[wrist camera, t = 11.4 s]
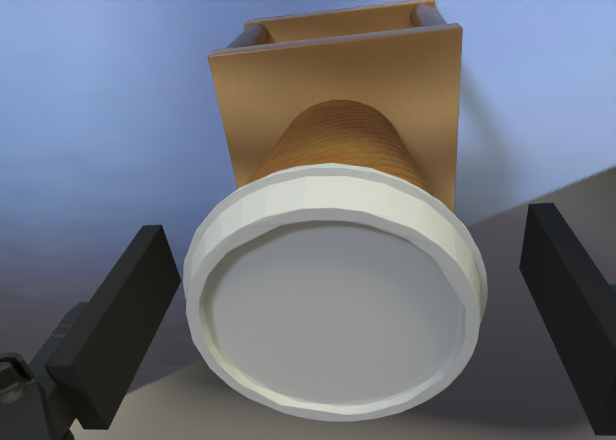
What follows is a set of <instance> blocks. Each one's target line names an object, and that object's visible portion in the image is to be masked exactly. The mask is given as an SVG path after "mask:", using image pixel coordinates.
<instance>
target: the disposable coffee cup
mask: <svg viewBox="0 0 616 440" xmlns="http://www.w3.org/2000/svg"><path fill="white" fill-rule="evenodd" d="M183 286H184V292H185V298H186V303H187V305H186V314H187V318H188V323H189V327H190V331H191V336H192V340H193V342H194V344H195V345H196V347H197V349H198V350H199V352H200V353H201V355H202V356H203V358H204V360H205V361H206V362H207V364H208V366H209V367H210V368H211V369H212V370H213V371H214V372H215V373H216V374H217V375H218V376H219V377H220V378H221V379H222V380H224V381H225V382H226V383H227V384H228V385H229V386H230V387H232V388H234V389H235V390H236V391H238V392H240V393H241V394H243V395H244V396H246V397H247V398H249V399H251V400H253V401H256V402H258V403H261V404H263V405H266V406H268V407H270V408H273V409H275V410H278V411H280V412H283V413H285V414H289V415H294V416H298V417H303V418H308V419H313V420H324V421H335V422H336V421H337V422H339V421H361V420H368V419H375V418H380V417H384V416H388V415H393V414H397V413H401V412H403V411H406V410H408V409H410V408H412V407H414V406H416V405H419V404H421V403H423V402H425V401H427V400H429V399H430V398H432V397H433V396H435V395H436V394H438V393H439V392H441V391H442V390H444V389H445V388H446V387H448V385H449V384H450V383H451V382H452V381H453V380H454V379H455V378H456V377H457V376H458V375H459V374H460V373H461V372H462V371H463V369H464V368H465V366H466V364H467V363H468V361H469V359H470V357H471V356H472V354H473V352H474V349H475V346H476V343H477V341H478V334H479V325H480V323H481V321H482V319H483V316H484V310H485V306H486V301H487V296H488V290H487V277H486V269H485V266H484V263H483V260H482V257H481V253H480V251H479V250H478V248H477V246H476V244H475V242H474V240H473V238H472V237H471V235H470V233H469V231H468V230H467V228H466V227H465V225H464V224H463V223H462V222H461V221H460V220H459V219H458V218H457V217H456V216H455V215H454V214H453V213H452V212H451V211H450V210H449V209H448V208H447V207H446V206H445V205H444V204H443V203H442V202H441V201H439V200H438V199H436V198H435V197H434V195H433V193H432V192H431V190H430V189H429V187H428V185H427V183H426V182H425V179H424V178H423V176H422V175H421V173H420V171H419V170H418V168H417V166H416V165H415V162H414V160H413V159H412V157H411V156H410V154H409V152H408V150H407V149H406V147H405V145H404V144H403V142H402V140H401V139H400V137H399V135H398V132H397V131H396V129H395V128H394V126H393V125H392V123H391V122H390V121H389V120H388V119H387V118H386V117H385V116H384V115H383V114H382V113H381V112H379V111H377V110H376V109H374V108H373V107H371V106H368V105H365V104H363V103H360V102H357V101H350V100H330V101H325V102H321V103H319V104H316V105H314V106H311V107H309V108H308V109H306V110H305V111H303V112H302V113H300V114H299V115H298V116H297V117H296V118H295V119H294V120H293V121H292V122H291V123H290V125H289V127H288V128H287V129H286V131H285V132H284V133H283V135H282V136H281V137H280V139H279V140H278V141H277V143H276V144H275V145H274V147H273V148H272V149H271V150H270V152H269V153H268V154H267V156H266V157H265V159H264V160H263V161H262V163H261V164H260V165H259V166H258V168H257V169H256V171H255V172H254V173H253V174H252V176H251V177H250V178H249V180H248V181H247V183H246V184H245V185H244V186H242V187H240V188H239V189H237V190H236V191H235V192H233V193H232V194H231V195H229V196H228V197H227V198H225V199H224V200H223V201H221V202H220V203H219V204H218V205H217V206H216V207H215V208H214V209H213V210H212V211H211V212H210V214H209V215H208V216H207V217H206V219H205V220H204V221H203V222H202V223H201V225H200V226H199V227H198V229H197V230H196V232H195V234H194V236H193V239H192V242H191V244H190V247H189V250H188V252H187V255H186V257H185V260H184V275H183Z"/></svg>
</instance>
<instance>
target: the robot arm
mask: <svg viewBox="0 0 616 440" xmlns="http://www.w3.org/2000/svg"><path fill="white" fill-rule="evenodd" d="M520 271H521V273H522V275H523V277H524V280H525V282H526V284H527V286H528V288H529V290H530V293H531V295H532V297H533V299H534V301H535V304H536V306H537V308H538V310H539V312H540V314H541V317H542V319H543V321H544V323H545V325H546V328H547V330H548V332H549V334H550V337H551V339H552V341H553V343H554V345H555V347H556V349H557V352H558V354H559V356H560V358H561V361H562V363H563V365H564V367H565V369H566V372H567V374H568V376H569V378H570V380H571V382H572V385H573V387H574V389H575V391H576V394H577V396H578V398H579V400H580V402H581V404H582V407H583V409H584V411H585V413H586V415H587V417H588V420H589V422H590V424H591V426H592V428H593V431H594V433H595V435H609V436H611V435H613V436H616V285H609V284H608V283H607V281H606V280H605V278H604V277H603V276H602V274H601V273H600V271H599V270H598V268H597V267H596V265H595V264H594V262H593V261H592V259H591V258H590V256H589V255H588V253H587V252H586V251H585V249H584V248H583V246H582V245H581V243H580V242H579V241H578V239H577V237H576V236H575V234H574V233H573V231H572V230H571V228H570V227H569V226H568V224H567V223H566V221H565V220H564V218H563V217H562V215H561V214H560V212H559V211H558V209H557V208H556V206H555V205H554V203H541V204H529V207H528V214H527V221H526V227H525V234H524V241H523V248H522V254H521V261H520ZM180 282H181V279H180V276H179V273H178V270H177V267H176V264H175V261H174V259H173V256H172V253H171V250H170V247H169V244H168V241H167V238H166V235H165V233H164V230H163V227H162V225H147V226H142V228H141V229H140V230H139V232H138V233H137V235H136V236H135V237H134V239H133V240H132V242H131V243H130V245H129V246H128V247H127V249H126V250H125V252H124V253H123V254H122V256H121V257H120V259H119V260H118V262H117V263H116V264H115V266H114V267H113V269H112V270H111V271H110V273H109V274H108V276H107V277H106V279H105V280H104V281H103V283H102V284H101V286H100V287H99V288H98V290H97V291H96V293H95V294H94V296H93V297H92V298H91V300H90V301H89V302H80V303H79V304H78V305H77V306H75V307H74V308H73V309H72V310H71V311H69V312H68V313H67V314H66V315H65V317H64V318H63V319H62V321H61V322H60V323H59V325H58V328H56V329H55V330H54V332H53V333H52V334H51V337H50V338H48V340H47V341H46V342H45V344H44V345H43V346H42V348H41V349H40V350H39V352H38V353H37V354H36V356H35V357H34V359H33V360H32V361H31V363H30V364H29V365H27V364H26V362H25V361H24V359H23V358H22V356H21V355H20V354H18V353H14V352H12V353H4V354H1V355H0V440H75V439H74V436H73V434H72V433H71V431H70V429H69V428H70V427H71V425H72V423H73V421H74V420H75V418H77V419H78V421H79V422H80V424H81V426H82V427H83V429H98V430H108V429H109V427H110V425H111V423H112V421H113V419H114V417H115V414H116V412H117V411H118V408H119V406H120V404H121V402H122V400H123V398H124V396H125V394H126V392H127V390H128V388H129V386H130V384H131V382H132V380H133V378H134V376H135V374H136V372H137V370H138V368H139V366H140V364H141V362H142V360H143V358H144V356H145V354H146V352H147V350H148V348H149V345H150V343H151V341H152V339H153V337H154V335H155V333H156V331H157V329H158V327H159V325H160V323H161V321H162V319H163V317H164V315H165V313H166V311H167V309H168V307H169V305H170V303H171V301H172V299H173V297H174V295H175V293H176V291H177V289H178V287H179V285H180Z"/></svg>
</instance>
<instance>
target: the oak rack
mask: <svg viewBox="0 0 616 440" xmlns="http://www.w3.org/2000/svg"><path fill="white" fill-rule="evenodd" d="M244 27H245V31H244V32H243V33H242V34H241V35H240V36H238V37H237V38H236V39H235V40H234V41H233V42H232V43H231V44H230V45H229V46H228V47H227V48H226V49H220V50H214V51H213V52H212V53H211V54H209V55H208V61H209V65H210V70H211V74H212V78H213V83H214V87H215V92H216V96H217V100H218V105H219V109H220V113H221V118H222V122H223V127H224V131H225V135H226V140H227V144H228V148H229V153H230V157H231V162H232V166H233V170H234V175H235V179H236V183H237V188H238V189H239V188H240V187H242V186H244V185H245V184H246V183H247V181H248V180H249V178H250V177H251V176H252V174H253V173H254V172H255V171H256V169H257V168H258V166H259V165H260V164H261V163H262V161H263V160H264V159H265V157H266V156H267V154H268V153H269V152H270V150H271V149H272V148H273V147H274V145H275V144H276V143H277V141H278V140H279V139H280V137H281V136H282V135H283V133H284V132H285V131H286V129H287V128H288V127H289V125H290V123H291V122H292V121H293V120H294V119H295V118H296V117H297V116H298V115H299V114H300V113H302V112H303V111H305V110H306V109H308V108H309V107H311V106H314V105H316V104H319V103H321V102H325V101H330V100H350V101H357V102H360V103H363V104H365V105H368V106H371V107H373V108H374V109H376V110H377V111H379V112H381V113H382V114H383V115H384V116H385V117H386V118H387V119H388V120H389V121H390V122H391V123H392V125H393V126H394V128H395V129H396V131H397V132H398V135H399V137H400V139H401V140H402V142H403V144H404V145H405V147H406V149H407V150H408V152H409V154H410V156H411V157H412V159H413V160H414V162H415V165H416V166H417V168H418V170H419V171H420V173H421V175H422V176H423V178H424V179H425V182H426V183H427V185H428V187H429V189H430V190H431V192H432V193H433V195H434V197H435V198H436V199H438V200H439V201H441V202H442V203H443V204H444V205H445V206H446V207H447V208H448V209H449V210H450V211H451V212H452V213H453V214H454V200H455V179H456V158H457V137H458V116H459V95H460V74H461V53H462V32H463V29H462V27H461V26H460V25H459V24H458V23H451V24H447V23H446V22H445V21H444V20H443V19H442V18H441V16H440V15H439V14H438V13H437V12H436V11H435V0H412V1H403V2H395V3H387V4H378V5H370V6H362V7H354V8H345V9H337V10H329V11H320V12H312V13H304V14H296V15H287V16H279V17H271V18H262V19H254V20H248V21H246V22H245V23H244Z"/></svg>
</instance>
